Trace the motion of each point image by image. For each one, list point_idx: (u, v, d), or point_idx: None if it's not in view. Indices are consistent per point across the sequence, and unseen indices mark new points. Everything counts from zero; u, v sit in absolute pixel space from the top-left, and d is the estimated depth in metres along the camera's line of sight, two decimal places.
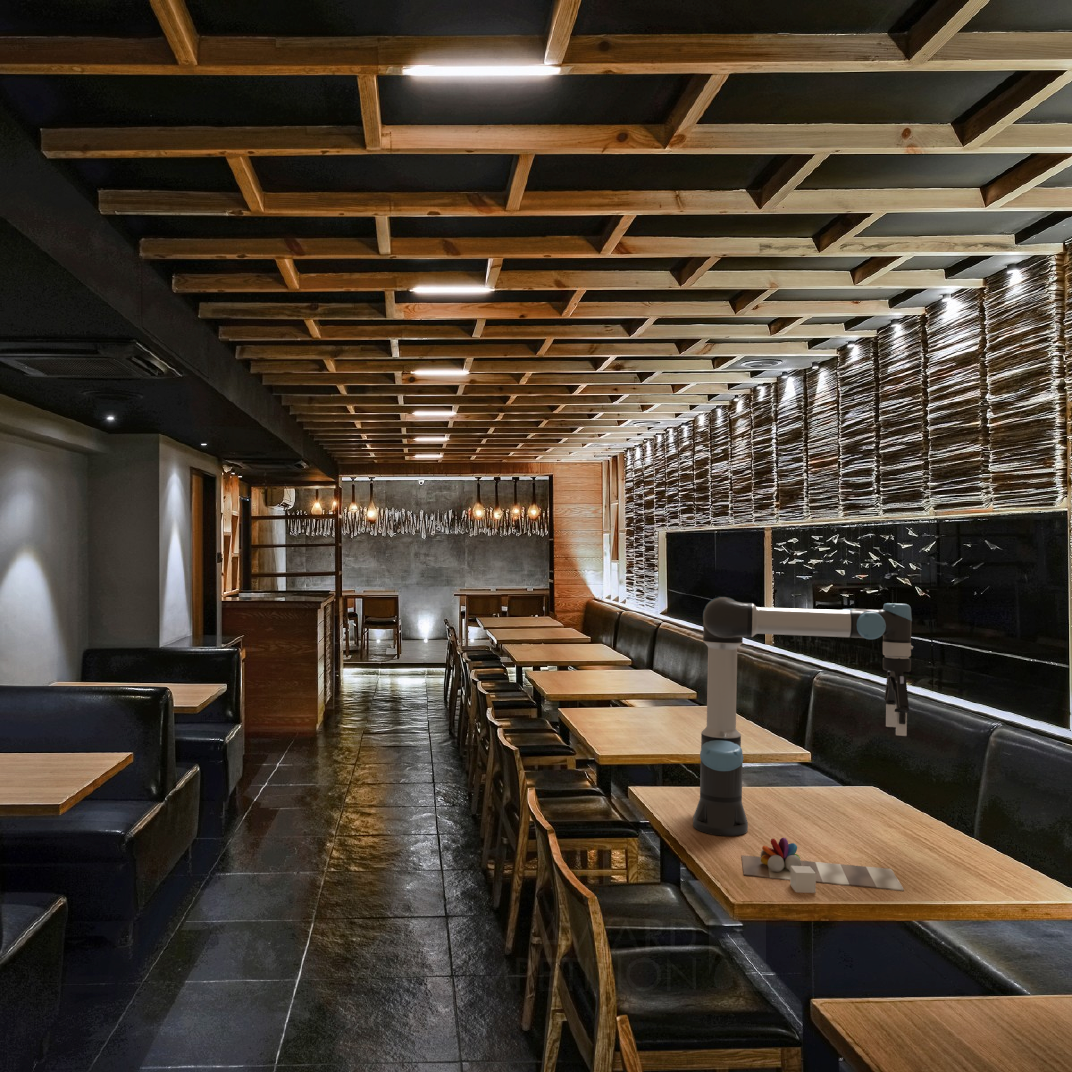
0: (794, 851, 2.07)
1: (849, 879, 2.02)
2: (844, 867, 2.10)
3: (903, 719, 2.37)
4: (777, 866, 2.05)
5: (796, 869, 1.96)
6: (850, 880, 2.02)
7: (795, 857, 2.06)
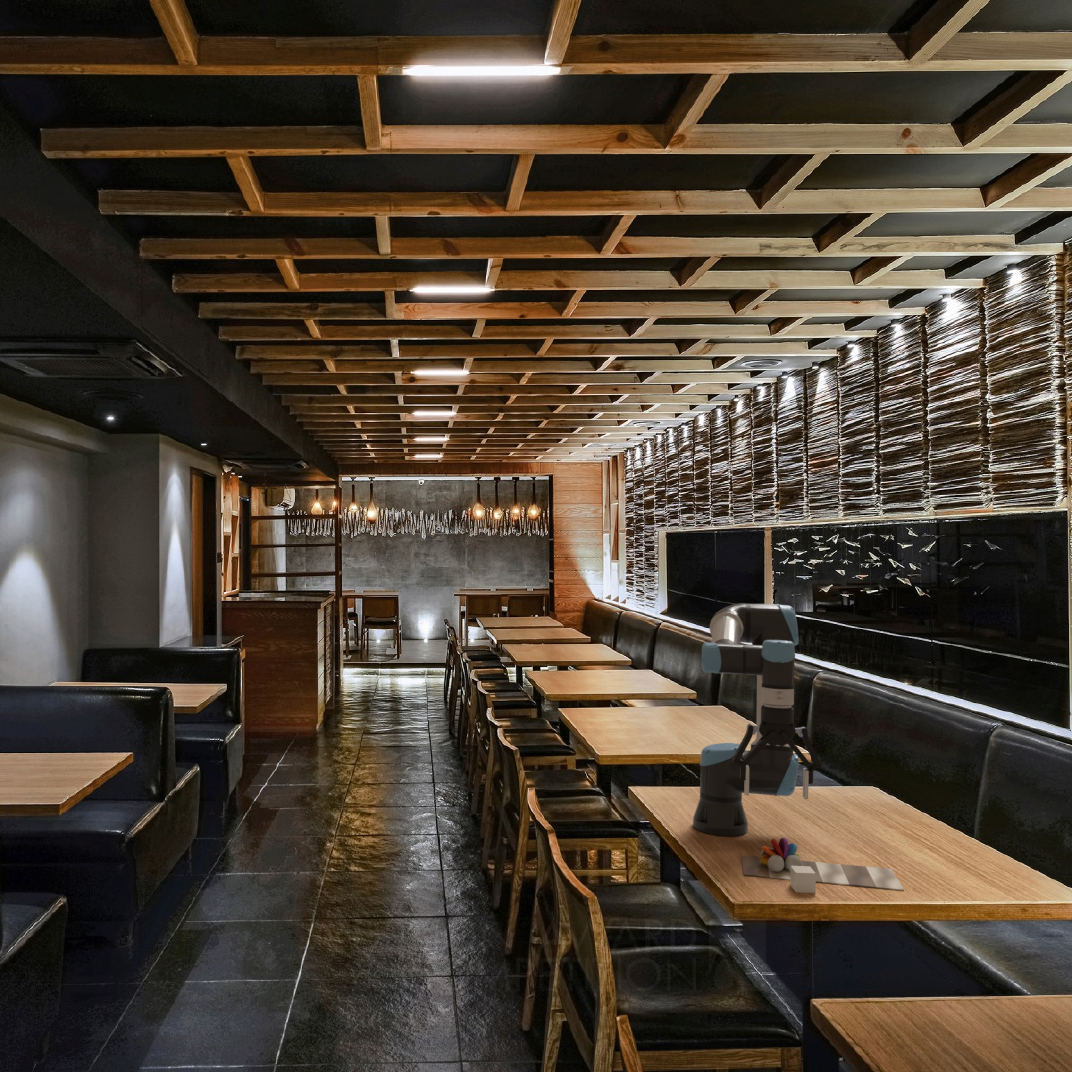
0: (794, 851, 2.07)
1: (849, 879, 2.02)
2: (844, 867, 2.10)
3: (740, 774, 2.03)
4: (777, 866, 2.05)
5: (796, 869, 1.96)
6: (850, 880, 2.02)
7: (795, 857, 2.06)
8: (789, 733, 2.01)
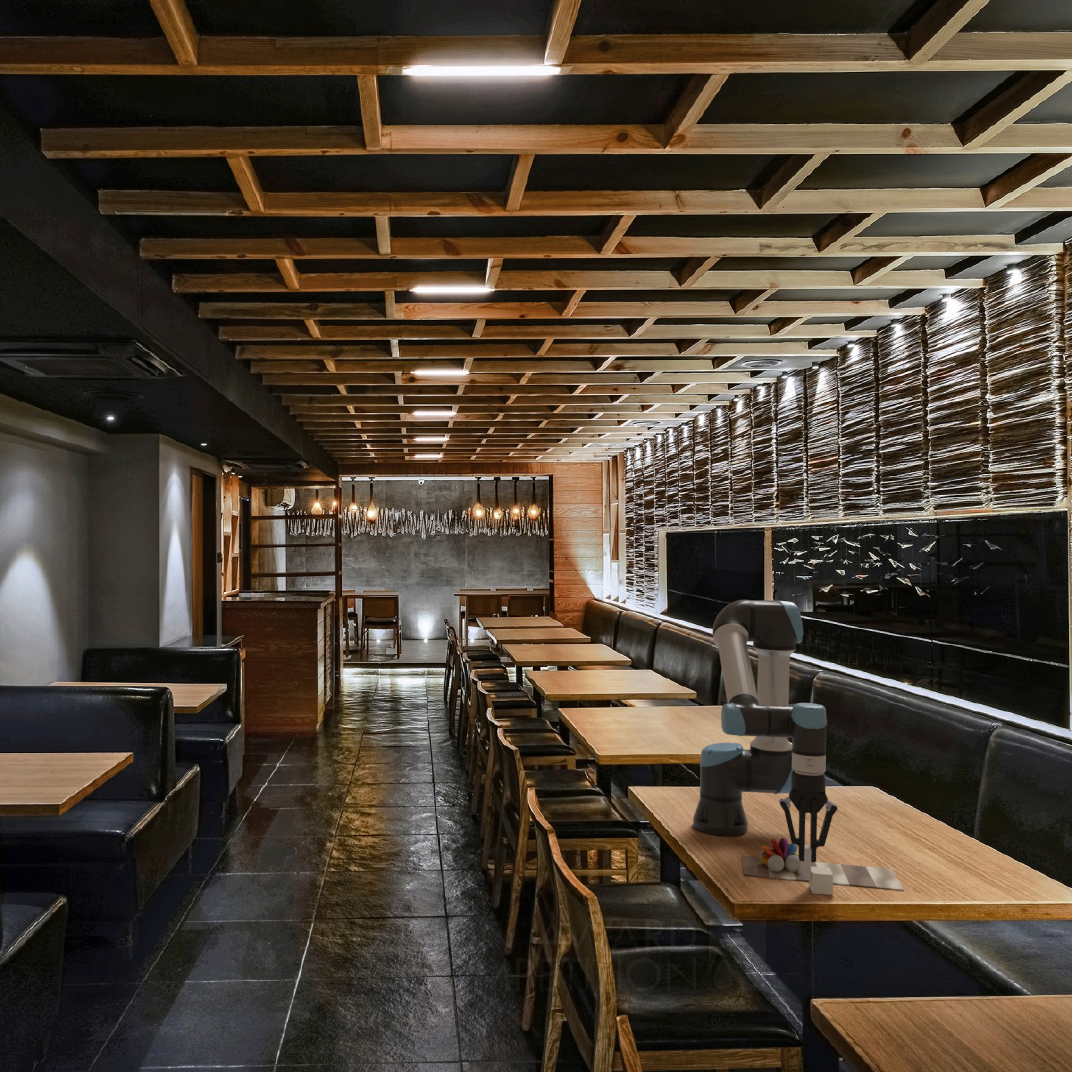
0: (794, 851, 2.07)
1: (849, 879, 2.02)
2: (844, 867, 2.10)
3: None
4: (777, 866, 2.05)
5: (814, 870, 1.96)
6: (850, 880, 2.02)
7: (795, 857, 2.06)
8: (819, 799, 1.95)
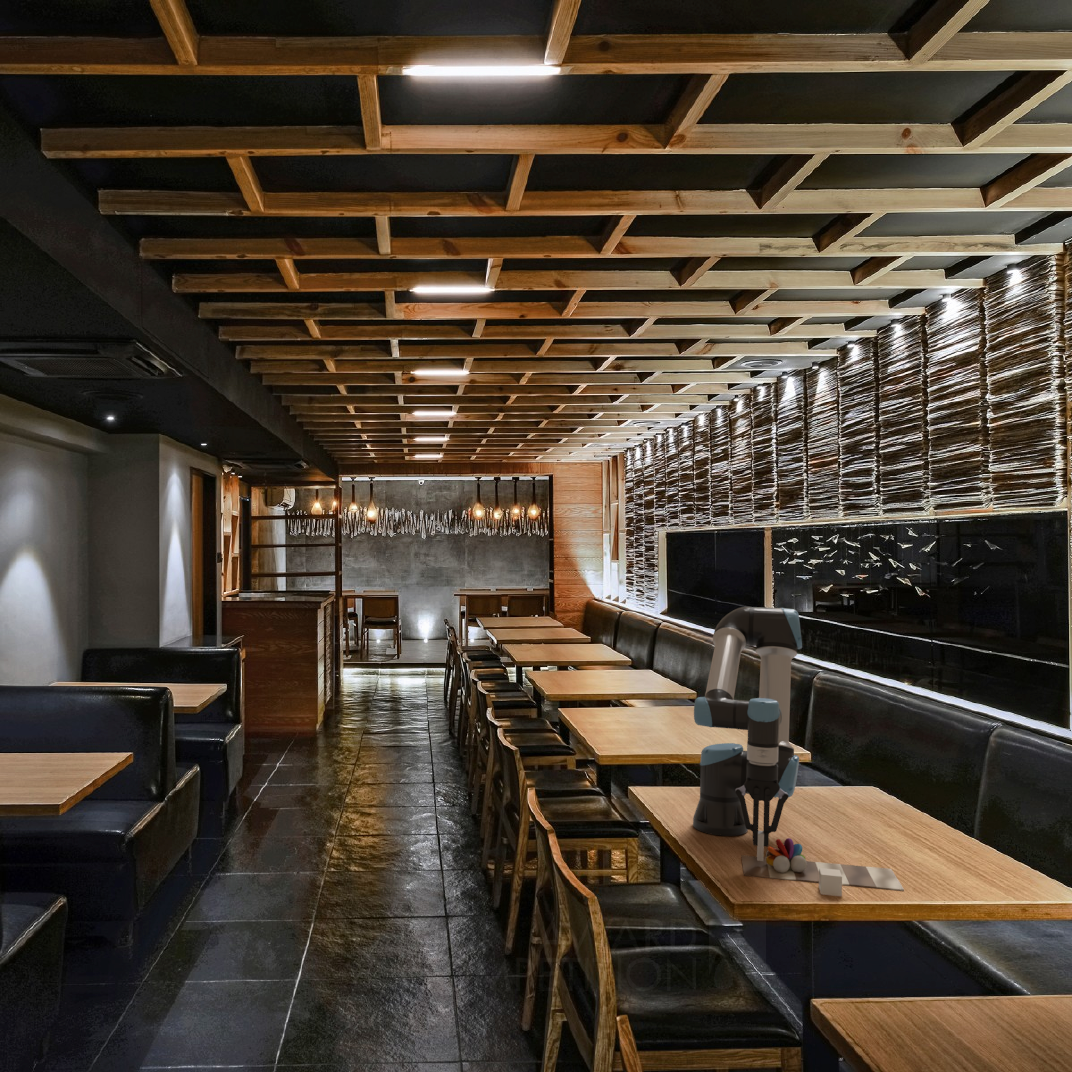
0: (799, 852, 2.07)
1: (849, 879, 2.02)
2: (844, 867, 2.10)
3: None
4: (783, 867, 2.04)
5: (823, 871, 1.95)
6: (850, 880, 2.02)
7: (800, 858, 2.06)
8: (772, 788, 2.09)
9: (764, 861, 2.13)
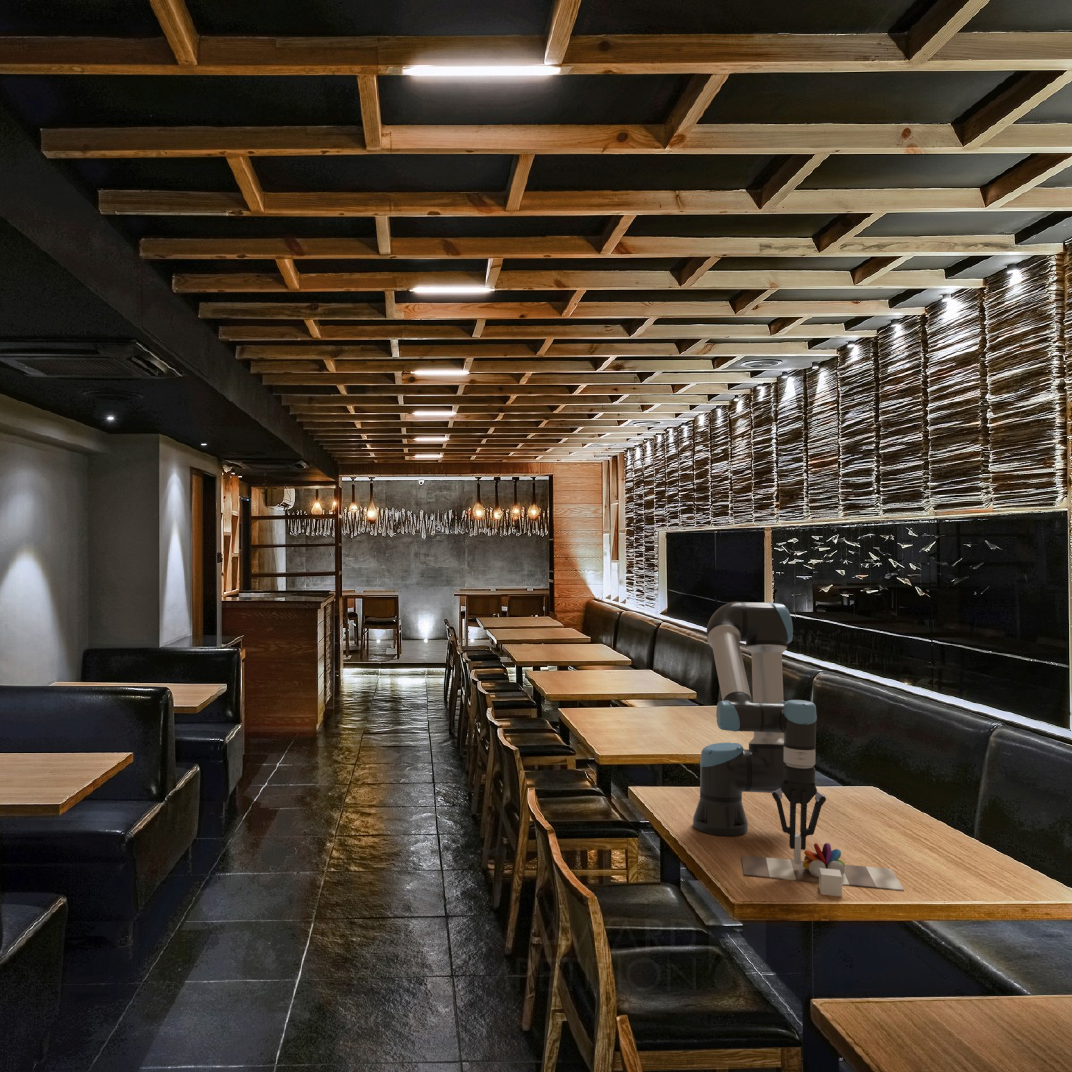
0: (837, 857, 2.04)
1: (849, 879, 2.02)
2: (844, 867, 2.10)
3: (789, 842, 2.08)
4: (818, 871, 2.02)
5: (823, 871, 1.95)
6: (850, 880, 2.02)
7: (837, 863, 2.02)
8: (809, 791, 2.07)
9: (764, 861, 2.13)
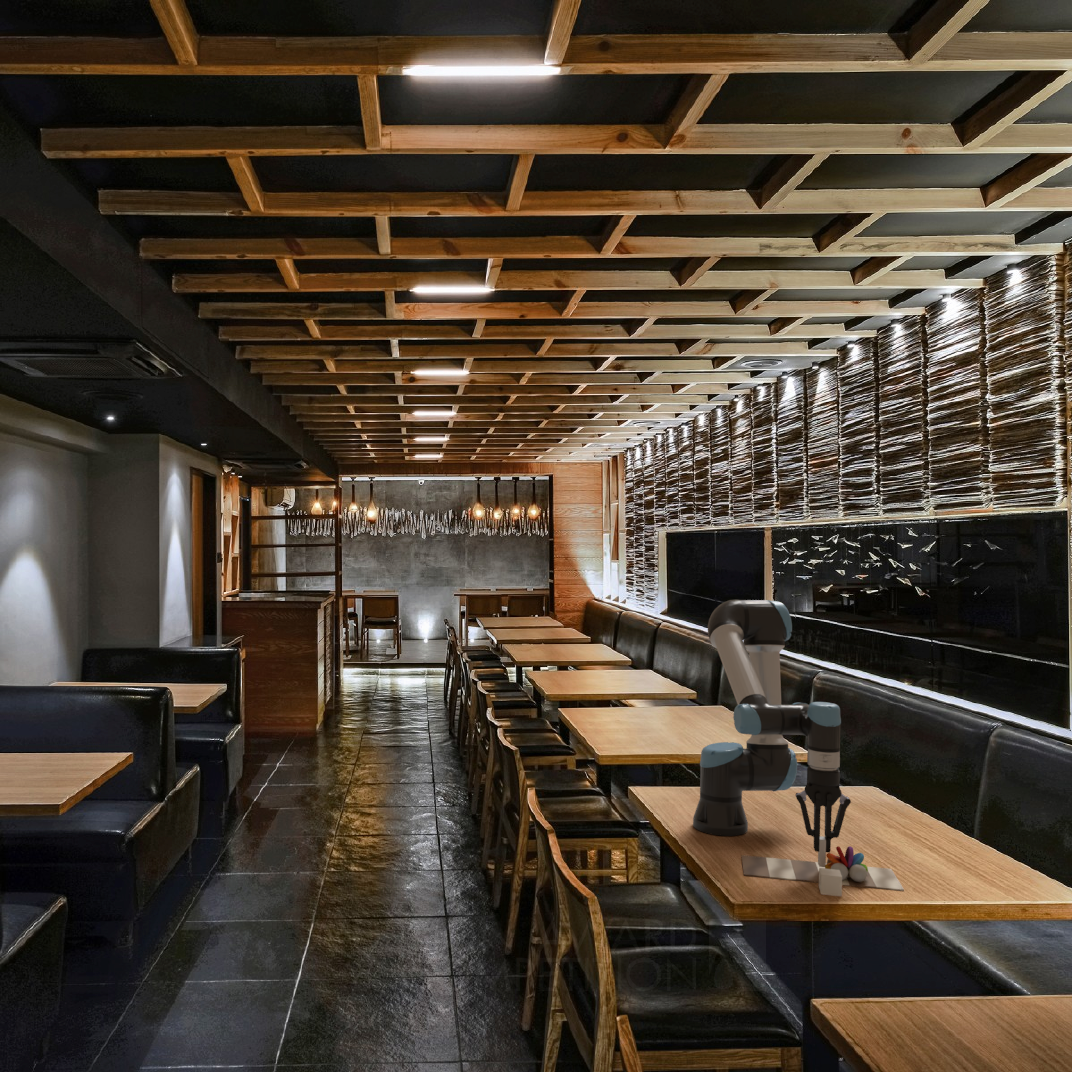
0: (859, 861, 2.02)
1: (849, 879, 2.02)
2: None
3: (814, 845, 2.07)
4: None
5: (823, 871, 1.95)
6: (850, 880, 2.02)
7: (859, 867, 2.00)
8: (834, 793, 2.06)
9: (764, 861, 2.13)
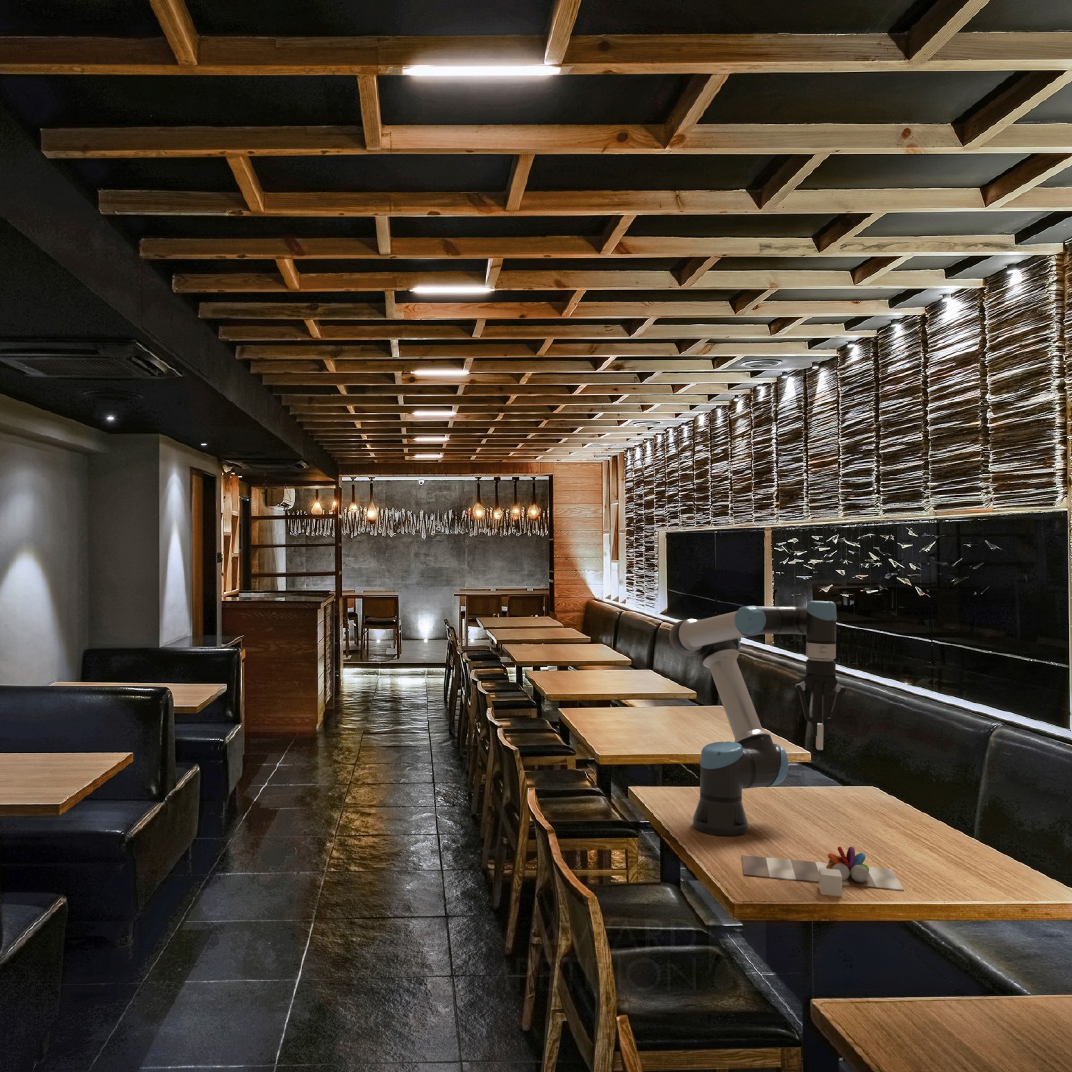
0: (861, 861, 2.01)
1: (849, 879, 2.02)
2: None
3: (812, 730, 2.26)
4: None
5: (823, 871, 1.95)
6: (850, 880, 2.02)
7: (861, 867, 2.00)
8: (830, 682, 2.24)
9: (764, 861, 2.13)
